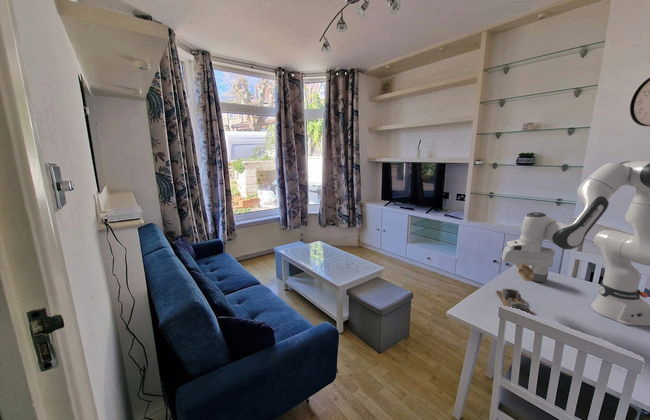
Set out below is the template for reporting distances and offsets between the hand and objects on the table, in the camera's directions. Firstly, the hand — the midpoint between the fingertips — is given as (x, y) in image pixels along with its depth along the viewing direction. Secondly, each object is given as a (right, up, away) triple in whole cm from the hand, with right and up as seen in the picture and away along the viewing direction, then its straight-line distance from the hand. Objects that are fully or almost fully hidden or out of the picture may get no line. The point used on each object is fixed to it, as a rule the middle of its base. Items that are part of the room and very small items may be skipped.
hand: (523, 272), depth 131 cm
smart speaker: (+28, -11, +28) cm, 41 cm away
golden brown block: (0, -2, 0) cm, 2 cm away
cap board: (-1, -18, +6) cm, 18 cm away
